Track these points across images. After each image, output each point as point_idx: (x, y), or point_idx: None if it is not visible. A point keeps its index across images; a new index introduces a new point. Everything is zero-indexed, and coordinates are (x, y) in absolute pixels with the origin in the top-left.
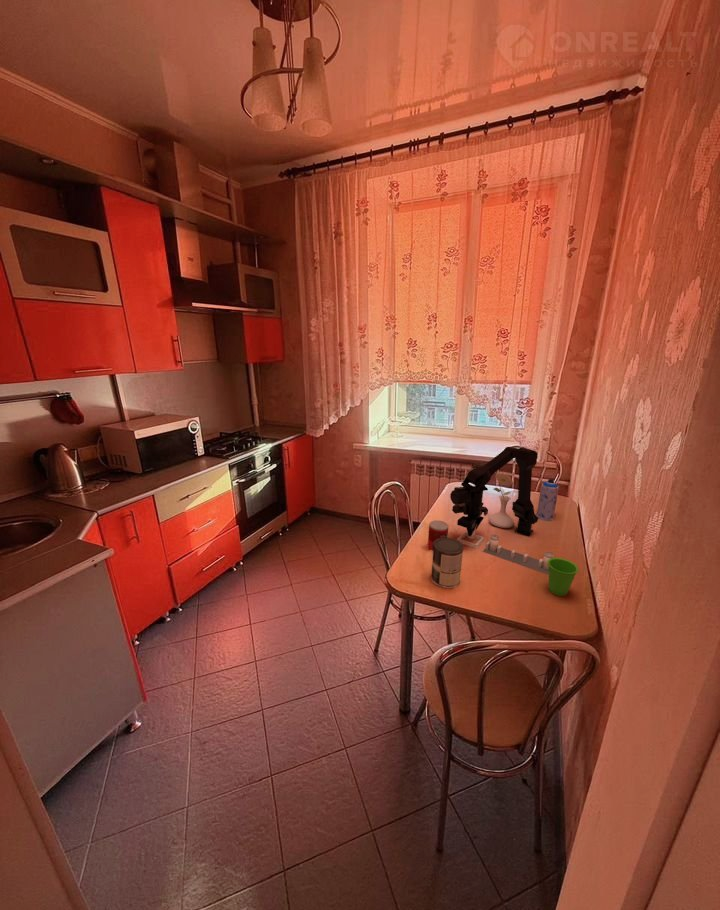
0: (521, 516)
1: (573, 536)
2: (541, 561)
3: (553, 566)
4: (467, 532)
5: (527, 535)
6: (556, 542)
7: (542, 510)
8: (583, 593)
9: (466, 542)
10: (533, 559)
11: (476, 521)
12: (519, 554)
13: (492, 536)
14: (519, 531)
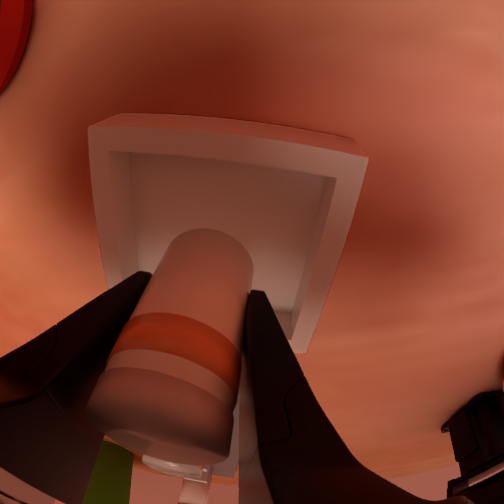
0: (469, 499)
1: (447, 463)
2: (188, 479)
3: (110, 500)
4: (339, 195)
5: (443, 427)
6: (407, 461)
7: None
8: (161, 472)
9: (100, 236)
10: (228, 458)
11: (246, 498)
12: (235, 441)
13: (161, 463)
14: (462, 419)
